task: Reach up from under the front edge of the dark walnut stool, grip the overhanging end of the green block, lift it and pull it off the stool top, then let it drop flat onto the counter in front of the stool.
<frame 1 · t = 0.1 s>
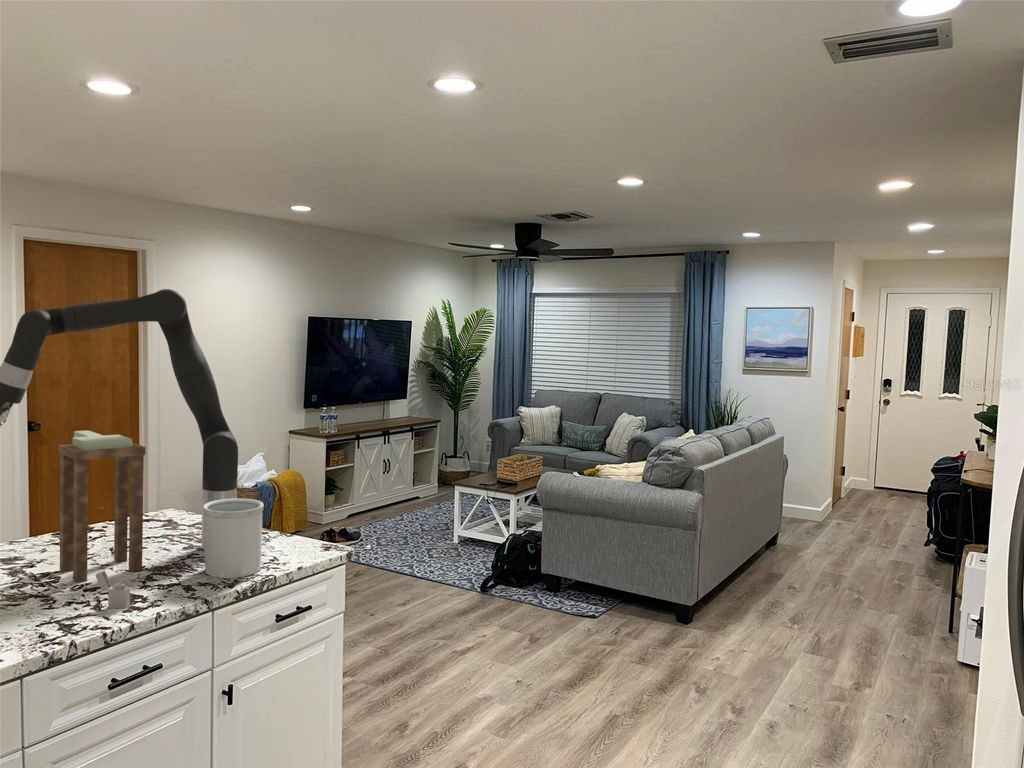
utensil holder: (232, 571, 200), on the worktop
stool: (101, 570, 195), on the worktop
lighter: (112, 607, 171), on the worktop
green block: (102, 446, 193), point 32 cm above the worktop, touching stool
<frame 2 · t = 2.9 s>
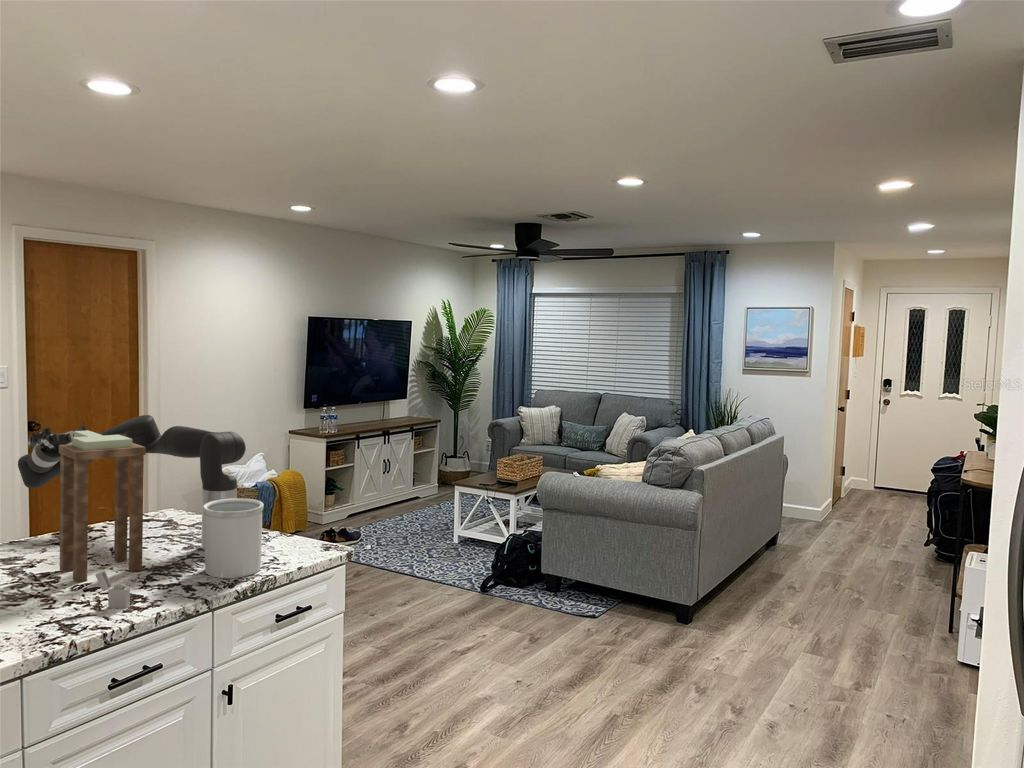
hand: (66, 429, 210), 33 cm above the worktop, tool pointing upward, fingers open, 8 cm apart
nothing on the worktop moved.
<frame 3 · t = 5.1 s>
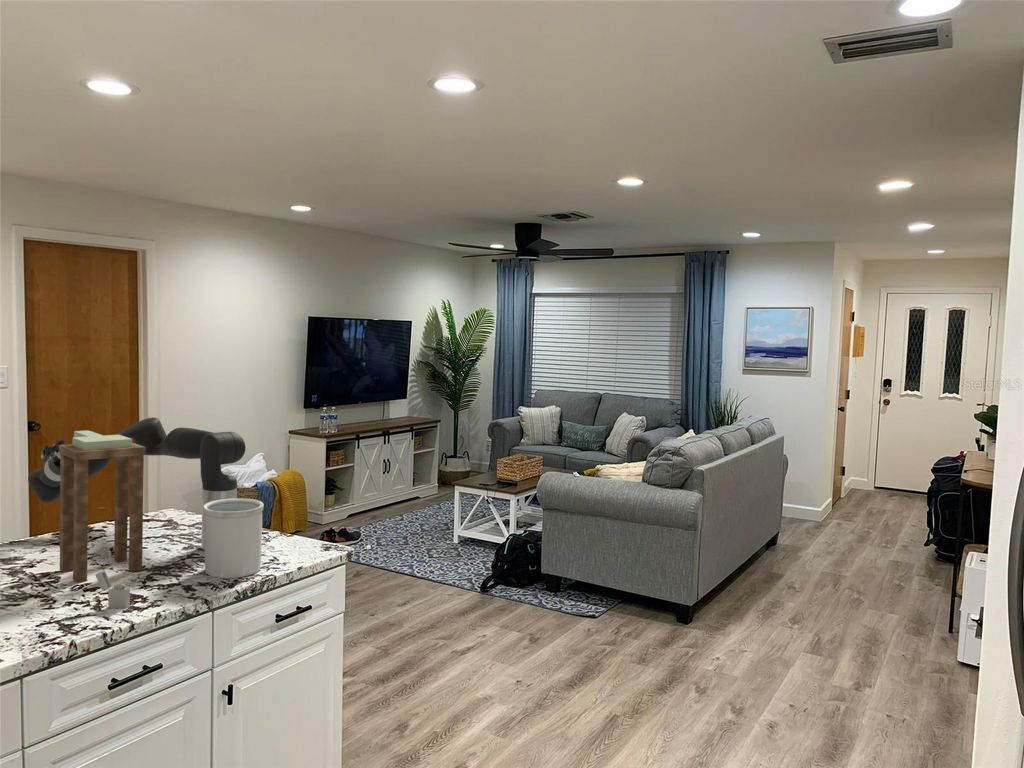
hand: (80, 441, 204), 31 cm above the worktop, tool pointing upward, fingers open, 8 cm apart
nothing on the worktop moved.
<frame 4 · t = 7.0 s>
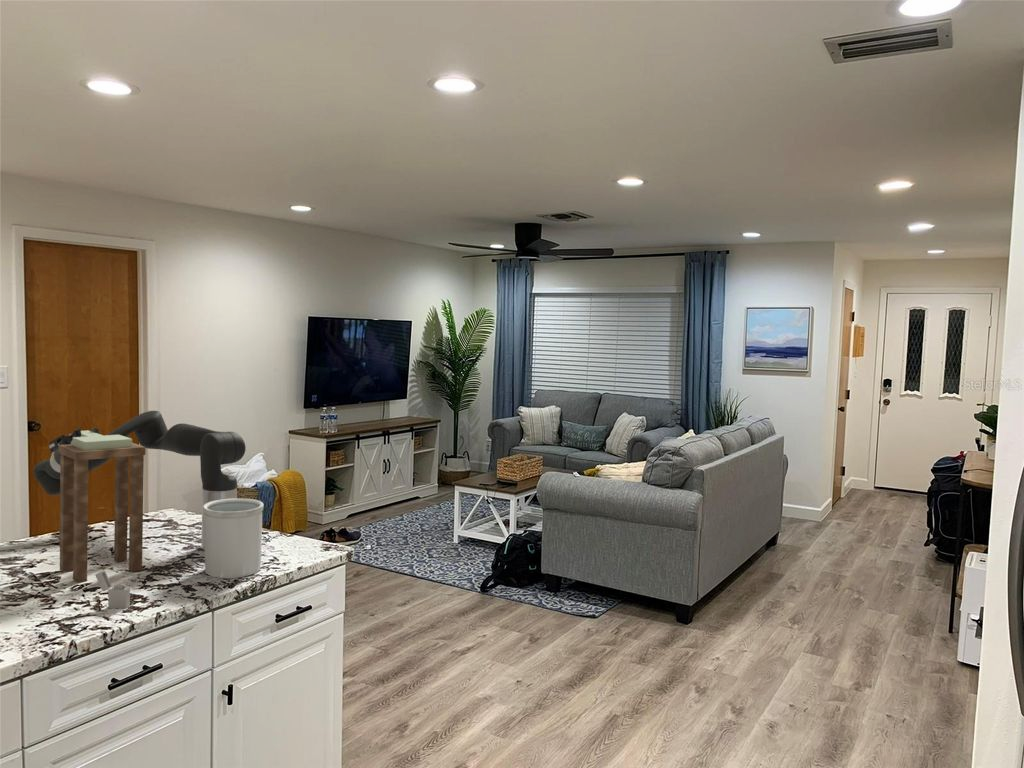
hand: (87, 431, 200), 34 cm above the worktop, tool pointing upward, fingers closed on green block, 3 cm apart
green block: (102, 446, 193), point 32 cm above the worktop, touching gripper, stool
everything else where it was.
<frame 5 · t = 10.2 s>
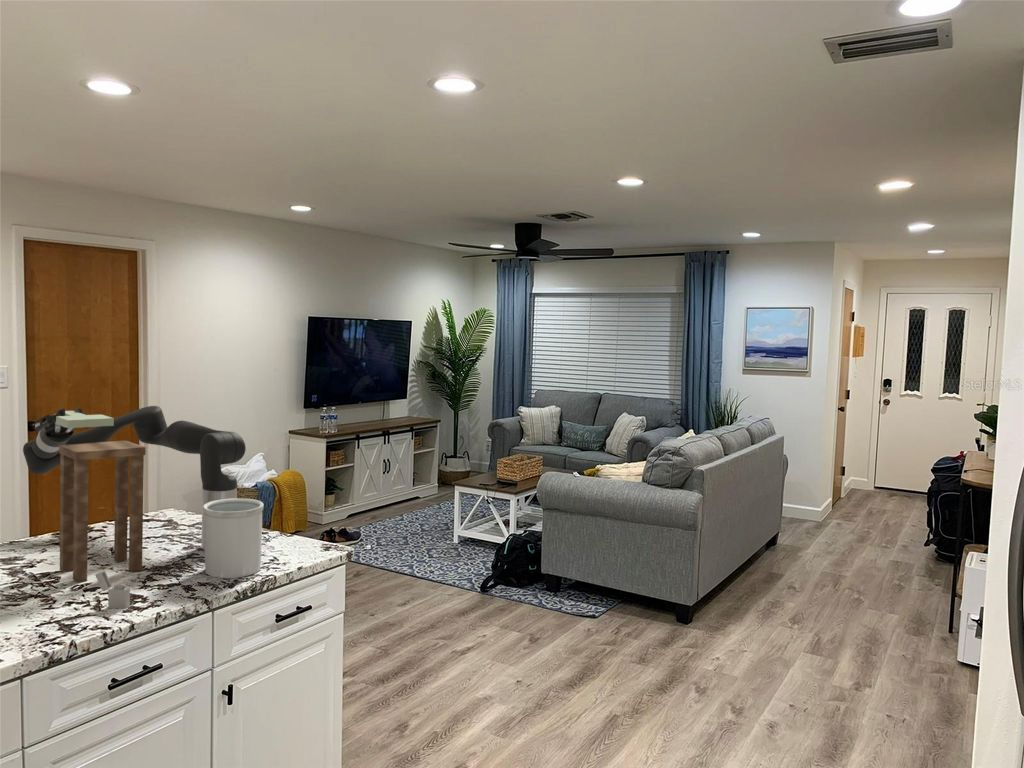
hand: (71, 411, 209), 38 cm above the worktop, tool pointing upward, fingers closed on green block, 3 cm apart
green block: (85, 424, 201), point 36 cm above the worktop, touching gripper
everything else where it was.
when the fingers open (27 cm above the worktop, at t = 13.3 s): green block drops 25 cm, on the worktop.
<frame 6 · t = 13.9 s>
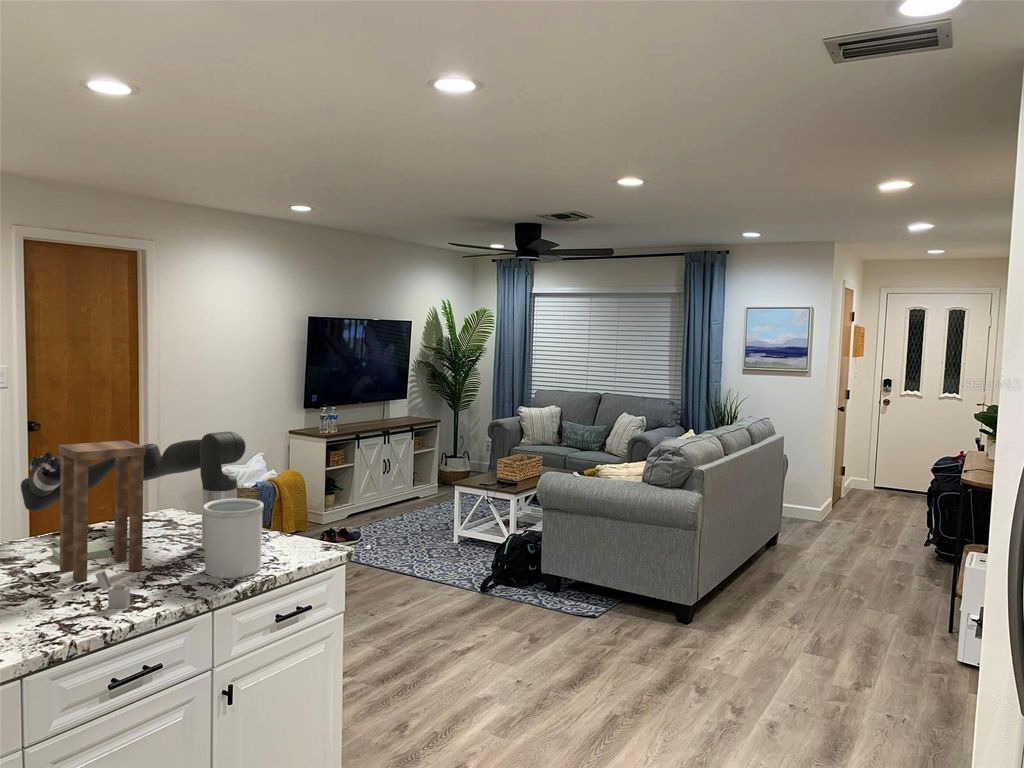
hand: (67, 453, 211), 26 cm above the worktop, tool pointing upward, fingers open, 8 cm apart
green block: (80, 556, 206), on the worktop
everything else where it was.
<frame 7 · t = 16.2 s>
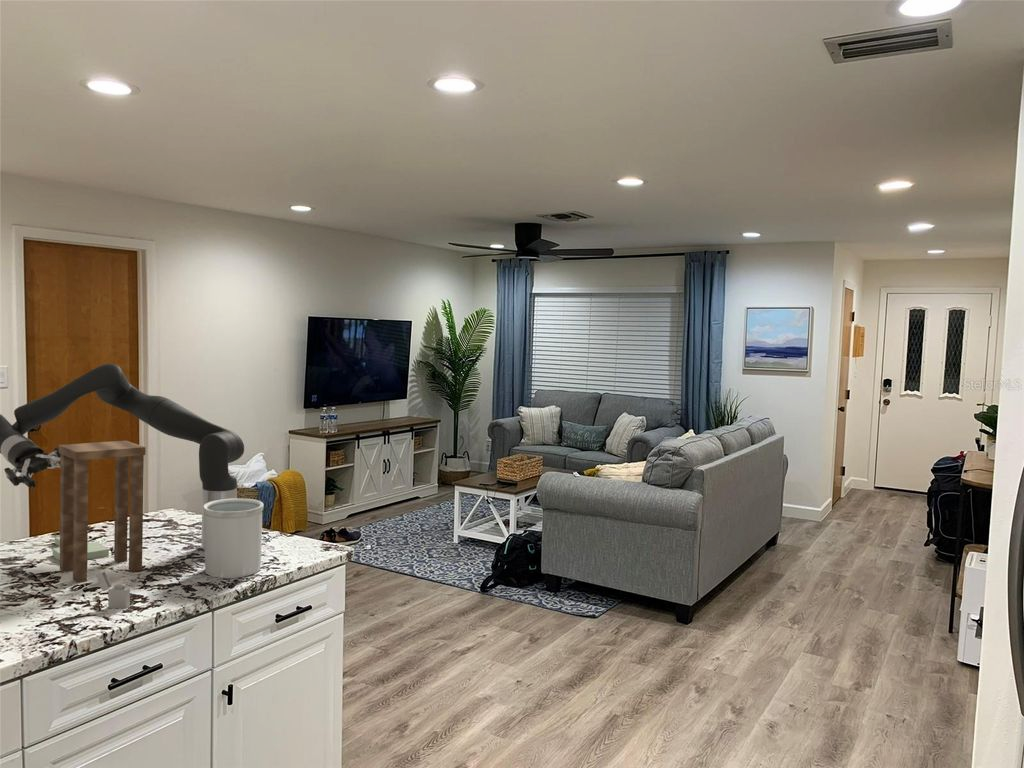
hand: (51, 477, 198), 22 cm above the worktop, tool tilted 75°, fingers open, 8 cm apart
nothing on the worktop moved.
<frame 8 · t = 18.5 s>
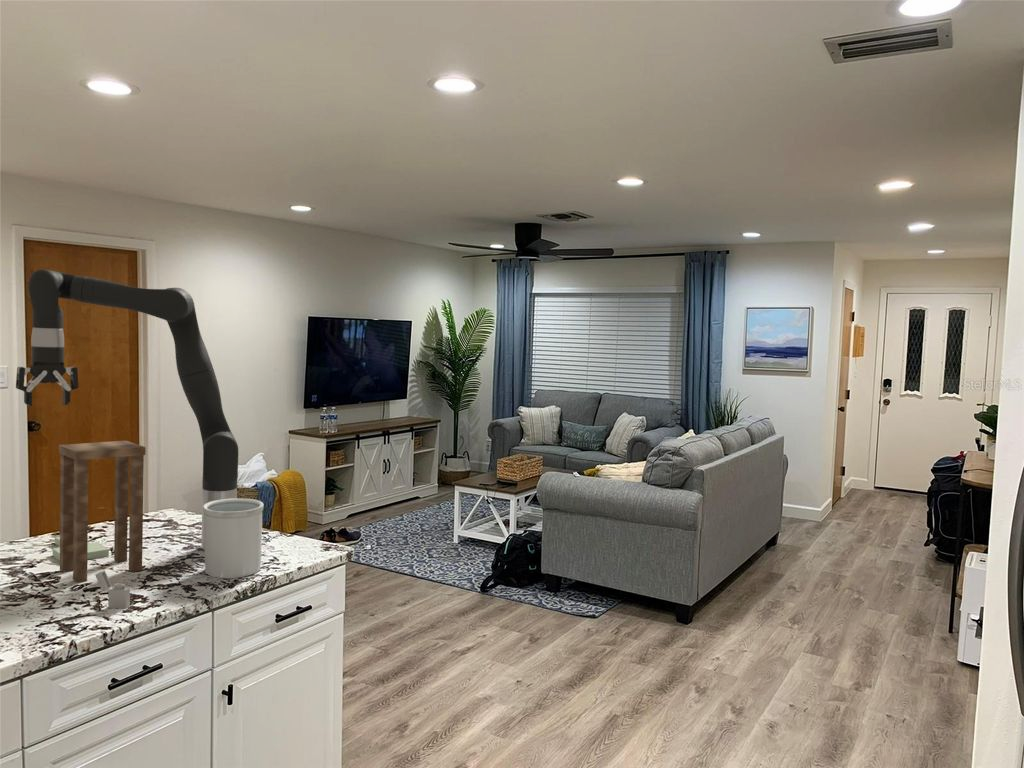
hand: (47, 405, 205), 40 cm above the worktop, tool pointing down, fingers open, 8 cm apart
nothing on the worktop moved.
at the end: green block inside the target area (0.4 cm from its centre), on the worktop; green block touching worktop; green block tilted 1° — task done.
